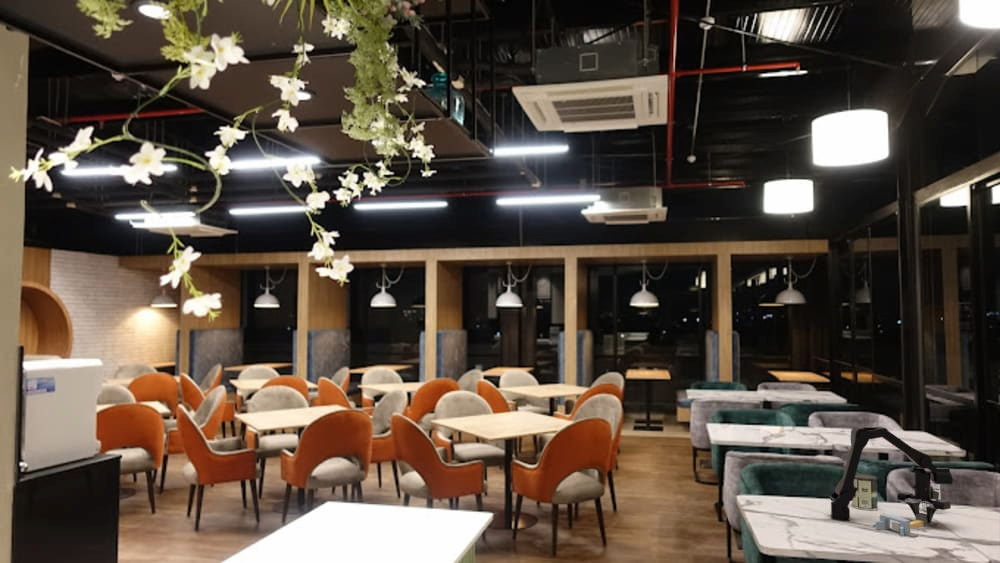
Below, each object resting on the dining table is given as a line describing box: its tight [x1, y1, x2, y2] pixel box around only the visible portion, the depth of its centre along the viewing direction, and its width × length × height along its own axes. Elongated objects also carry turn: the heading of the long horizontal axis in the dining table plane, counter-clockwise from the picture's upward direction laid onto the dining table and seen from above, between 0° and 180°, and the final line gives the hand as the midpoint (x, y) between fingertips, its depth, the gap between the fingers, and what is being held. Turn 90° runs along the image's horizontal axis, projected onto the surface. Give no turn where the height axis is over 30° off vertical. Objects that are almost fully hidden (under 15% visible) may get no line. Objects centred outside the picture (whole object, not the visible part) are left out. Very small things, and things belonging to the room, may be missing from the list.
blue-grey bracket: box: [872, 513, 919, 538], centre depth 264 cm, size 6×16×5 cm, turn 29°
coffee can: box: [851, 473, 879, 511], centre depth 300 cm, size 10×10×14 cm
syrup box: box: [921, 481, 942, 515], centre depth 294 cm, size 6×6×14 cm
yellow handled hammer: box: [891, 512, 932, 533], centre depth 270 cm, size 22×4×4 cm, turn 119°
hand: (923, 521), depth 274 cm, fingers closed on yellow handled hammer, 4 cm apart
